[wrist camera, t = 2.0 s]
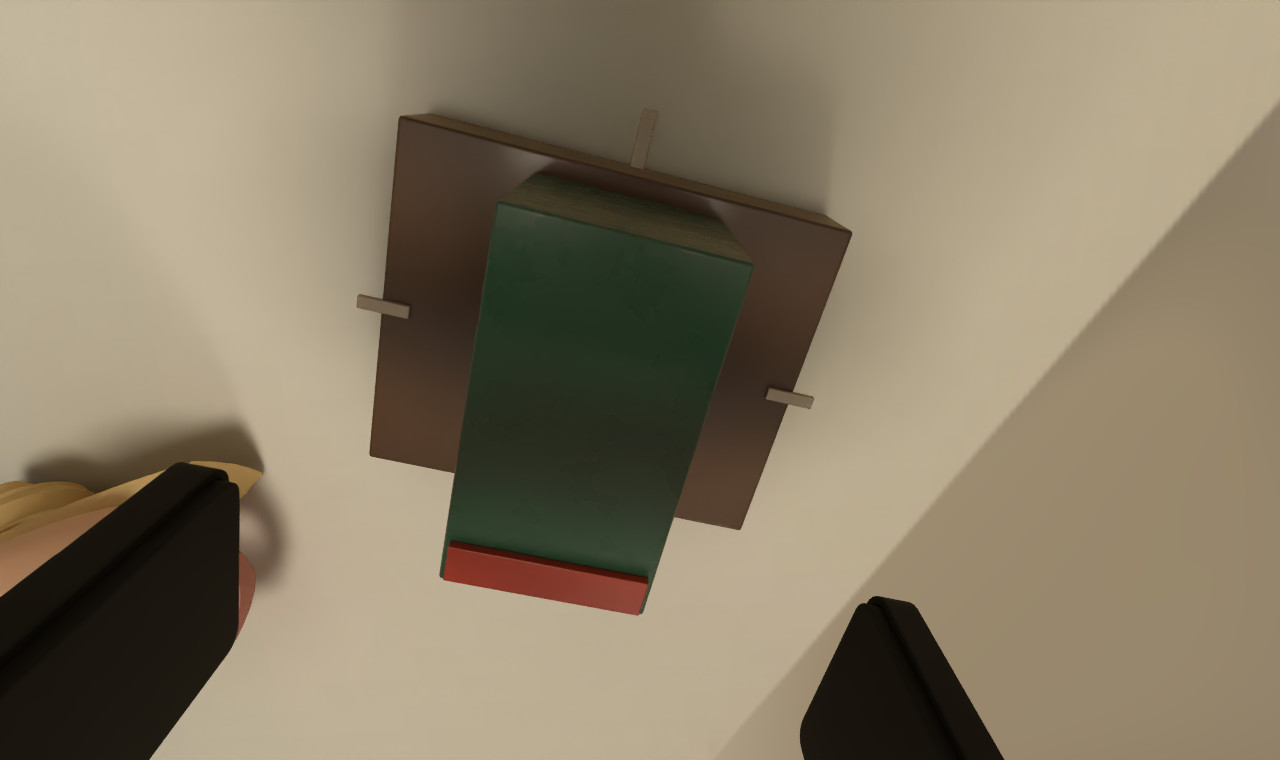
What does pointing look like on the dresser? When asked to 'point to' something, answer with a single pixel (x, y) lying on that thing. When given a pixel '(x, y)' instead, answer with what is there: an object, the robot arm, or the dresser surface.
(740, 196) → the brown square board
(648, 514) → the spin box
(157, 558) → the robot arm
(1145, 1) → the dresser surface
